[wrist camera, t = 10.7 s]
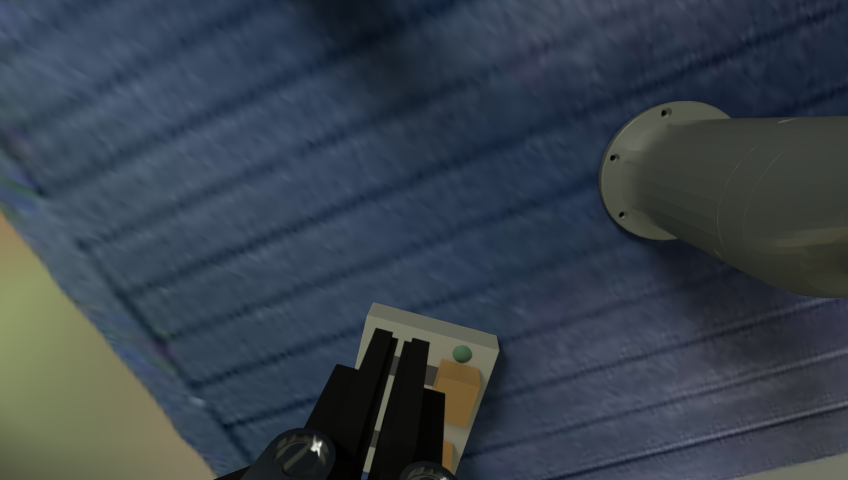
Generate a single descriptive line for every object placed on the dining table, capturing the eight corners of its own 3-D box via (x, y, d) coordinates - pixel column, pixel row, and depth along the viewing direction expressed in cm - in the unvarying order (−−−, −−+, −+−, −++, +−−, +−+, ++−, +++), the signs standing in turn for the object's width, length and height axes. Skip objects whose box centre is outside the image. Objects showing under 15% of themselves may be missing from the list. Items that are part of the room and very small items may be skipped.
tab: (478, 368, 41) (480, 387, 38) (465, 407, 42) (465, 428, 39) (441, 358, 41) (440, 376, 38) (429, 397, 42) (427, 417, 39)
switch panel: (496, 335, 43) (499, 351, 40) (448, 472, 49) (447, 494, 46) (373, 302, 43) (367, 315, 40) (340, 442, 49) (332, 463, 46)
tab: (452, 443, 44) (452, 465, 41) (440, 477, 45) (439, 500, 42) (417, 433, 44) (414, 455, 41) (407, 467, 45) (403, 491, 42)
